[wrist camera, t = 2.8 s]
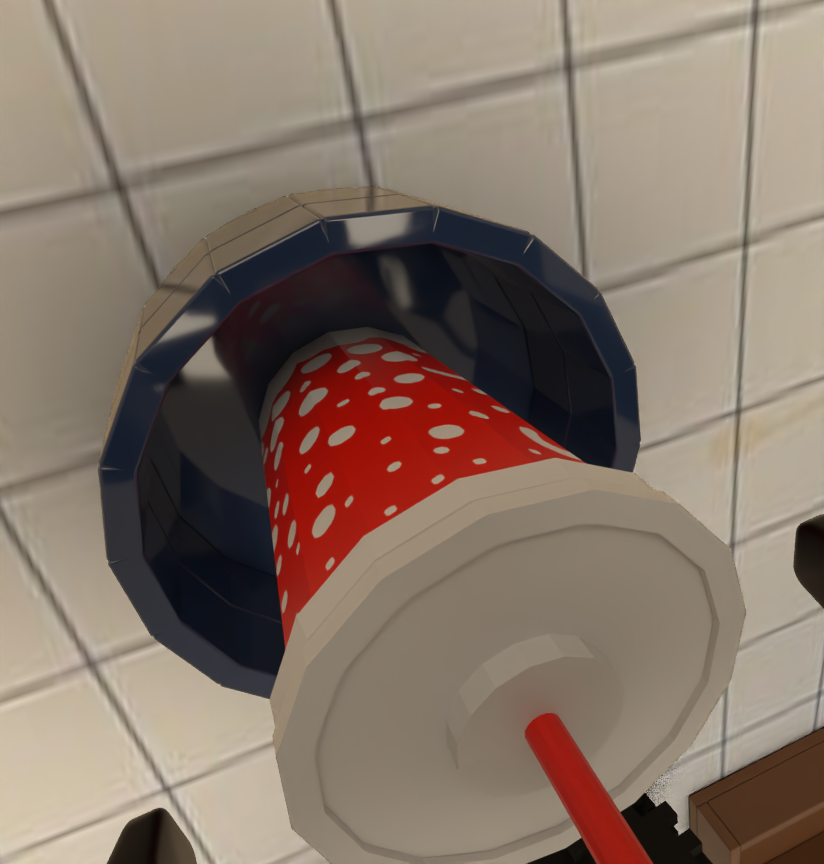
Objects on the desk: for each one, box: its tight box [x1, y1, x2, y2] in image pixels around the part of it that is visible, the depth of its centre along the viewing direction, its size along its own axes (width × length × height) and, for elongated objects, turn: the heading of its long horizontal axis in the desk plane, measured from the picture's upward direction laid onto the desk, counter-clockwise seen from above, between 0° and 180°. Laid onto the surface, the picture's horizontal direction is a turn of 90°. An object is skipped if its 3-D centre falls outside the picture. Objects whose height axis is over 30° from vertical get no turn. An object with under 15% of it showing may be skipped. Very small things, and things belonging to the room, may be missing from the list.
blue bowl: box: [98, 186, 641, 699], centre depth 14 cm, size 10×10×4 cm
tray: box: [689, 728, 824, 864], centre depth 30 cm, size 10×8×2 cm
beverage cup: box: [259, 327, 746, 864], centre depth 10 cm, size 6×6×14 cm
